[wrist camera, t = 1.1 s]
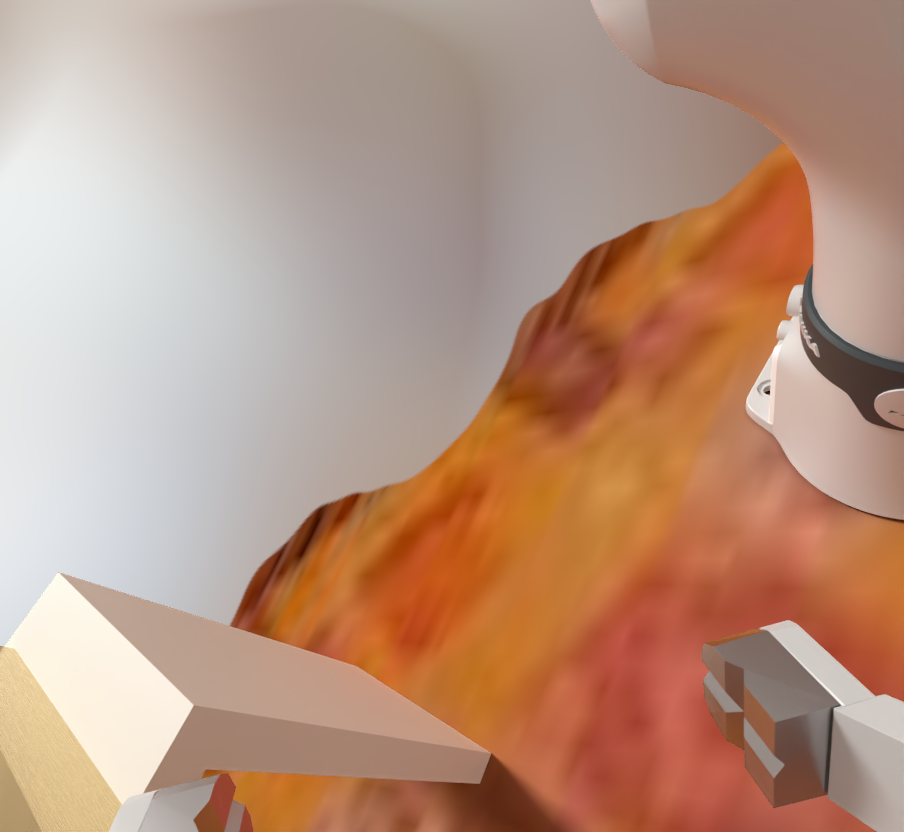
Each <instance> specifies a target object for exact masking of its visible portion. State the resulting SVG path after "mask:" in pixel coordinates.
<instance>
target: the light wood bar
mask: <svg viewBox="0 0 904 832" xmlns="http://www.w3.org/2000/svg"><path fill="white" fill-rule="evenodd" d="M121 806H122V804H121V803H120V801H119V800H118V798H117V797H116V795H115V794H114V792H113V791H112V790H111V788H110V787H109V785H108V784H107V782H106V781H105V779H104V778H103V776H102V775H101V773H100V772H99V771H98V769H97V768H96V766H95V765H94V763H93V762H92V760H91V759H90V757H89V756H88V755H87V753H86V752H85V750H84V749H83V747H82V746H81V744H80V743H79V741H78V740H77V739H76V737H75V736H74V734H73V733H72V731H71V730H70V728H69V727H68V725H67V724H66V723H65V721H64V720H63V718H62V717H61V715H60V714H59V712H58V711H57V709H56V708H55V706H54V705H53V704H52V702H51V701H50V699H49V698H48V696H47V695H46V693H45V692H44V690H43V689H42V688H41V686H40V685H39V683H38V682H37V680H36V679H35V677H34V676H33V674H32V673H31V672H30V670H29V669H28V667H27V666H26V664H25V663H24V661H23V660H22V658H21V657H20V656H19V654H18V653H17V651H16V650H15V649H13V648H8V647H3V646H0V832H109V829H110V827H111V825H112V823H113V821H114V819H115V816H116V814H117V812H118V810H119V808H120V807H121Z"/></svg>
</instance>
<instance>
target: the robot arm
mask: <svg viewBox="0 0 904 832" xmlns="http://www.w3.org/2000/svg"><path fill="white" fill-rule="evenodd" d="M590 1H591V3H592V6H593V8H594V10H595V12H596V15H597V17H598V18H599V20H600V22H601V23H602V25H603V27H604V28H605V30H606V32H607V34H608V35H609V36H610V38H611V39H612V40H613V41H614V43H615V44H616V45H617V47H618V48H619V49H620V50H621V51H622V52H623V53H624V54H625V55H626V56H627V57H628V58H629V59H630V60H631V61H632V62H633V63H634V64H635V65H637V66H638V67H639V68H641V69H642V70H644V71H645V72H646V73H648V74H649V75H651V76H653V77H654V78H656V79H658V80H660V81H662V82H664V83H666V84H670V85H675V86H680V87H684V88H688V89H691V90H695V91H698V92H702V93H705V94H708V95H710V96H713V97H715V98H718V99H720V100H723V101H725V102H727V103H730V104H732V105H734V106H735V107H737V108H739V109H741V110H742V111H744V112H746V113H748V114H749V115H751V116H753V117H754V118H756V119H757V120H758V121H760V122H761V123H762V124H764V125H765V126H767V127H768V128H769V129H770V130H771V131H772V132H773V133H774V134H776V135H777V136H778V137H779V138H780V139H781V140H782V141H783V142H784V143H785V144H786V146H787V147H788V148H789V149H790V150H791V152H792V153H793V154H794V156H795V157H796V159H797V160H798V162H799V164H800V165H801V167H802V169H803V172H804V174H805V177H806V180H807V183H808V187H809V192H810V198H811V208H812V219H813V238H814V258H813V264H812V266H811V268H810V269H809V271H808V274H807V276H806V279H805V282H804V285H796V286H794V288H793V289H792V291H791V294H790V296H789V299H788V303H787V309H786V312H787V314H789V316H793V317H792V319H791V321H785V320H783V321H782V322H781V323H780V325H779V328H778V331H777V339H779V342H778V344H777V345H776V347H775V348H774V351H773V353H772V354H771V356H770V358H769V360H768V361H767V363H766V365H765V367H764V368H763V370H762V372H761V374H760V375H759V377H758V379H757V381H756V382H755V384H754V386H753V388H752V390H751V391H750V393H749V395H748V397H747V400H746V412H747V414H748V415H749V416H750V417H751V418H752V419H753V420H754V421H755V422H756V423H758V424H759V425H760V426H762V427H763V428H765V429H766V430H767V431H769V432H770V433H772V434H773V435H774V436H775V438H776V439H777V440H778V442H779V443H780V445H781V447H782V449H783V450H784V452H785V454H786V456H787V457H788V459H789V460H790V462H791V463H792V464H793V466H794V467H795V468H796V469H797V470H798V472H799V473H800V474H801V475H802V476H803V477H804V478H805V479H807V480H808V481H809V482H810V483H811V484H813V485H814V486H815V487H817V488H818V489H819V490H821V491H822V492H824V493H825V494H827V495H829V496H830V497H832V498H834V499H836V500H838V501H840V502H842V503H844V504H846V505H849V506H851V507H854V508H856V509H859V510H862V511H865V512H868V513H872V514H875V515H879V516H884V517H888V518H894V519H901V520H904V0H590ZM767 391H770V395H767V394H765V392H767ZM702 661H703V663H704V664H705V665H706V667H707V668H708V669H709V672H708V674H707V675H706V677H705V678H704V680H703V686H704V696H705V699H706V702H707V705H708V708H709V711H710V713H711V715H712V717H713V719H714V721H715V723H716V725H717V727H718V728H719V730H720V731H721V733H722V734H723V736H724V737H725V739H726V740H727V741H728V742H730V743H732V744H734V745H735V746H737V747H739V748H741V749H742V750H744V758H745V768H746V769H747V771H748V772H749V773H750V775H751V776H752V778H753V779H754V781H755V782H756V784H757V785H758V786H759V788H760V789H761V791H762V792H763V794H764V795H765V796H766V798H767V799H768V801H769V802H770V804H771V805H772V806H773V808H777V807H781V806H785V805H789V804H793V803H797V802H801V801H805V800H809V799H813V798H817V797H821V796H824V795H828V799H829V800H831V801H832V802H834V803H835V804H837V805H838V806H840V807H841V808H843V809H844V810H846V811H847V812H849V813H850V814H852V815H853V816H855V817H856V818H858V819H859V820H860V821H862V822H863V823H865V824H866V825H868V826H869V827H871V828H872V829H874V830H875V831H877V832H904V702H902V701H900V700H898V699H895V698H893V697H890V696H888V695H886V694H884V695H879V696H875V695H874V694H873V693H872V692H870V691H869V690H868V689H867V688H866V687H865V686H864V685H863V684H862V683H861V682H860V681H858V680H857V679H856V678H855V677H854V676H853V675H852V674H851V673H850V672H849V671H848V670H846V669H845V668H844V667H843V666H842V665H841V664H840V663H839V662H838V661H837V660H836V659H835V658H833V657H832V656H831V655H830V654H829V653H828V652H827V651H826V650H825V649H824V648H823V647H821V646H820V645H819V644H818V643H817V642H816V641H815V640H814V639H813V638H812V637H811V636H809V635H808V634H807V633H806V632H805V631H804V630H803V629H802V628H801V627H800V626H799V625H797V624H796V623H794V622H792V621H790V620H787V621H784V622H780V623H776V624H773V625H769V626H765V627H762V628H759V629H757V628H756V629H753V630H749V631H746V632H742V633H738V634H735V635H731V636H728V637H724V638H721V639H717V640H714V641H710V642H707V643H704V645H703V648H702ZM235 788H236V787H235V785H234V783H233V781H232V780H231V778H230V776H229V774H221V775H216V776H212V777H208V778H204V779H200V780H196V781H191V782H187V783H183V784H179V785H175V786H171V787H166V788H162V789H159V790H155V791H151V792H147V793H143V794H139V795H135V796H131V797H129V798H128V799H127V800H126V801H125V802H124V803H123V805H122V806H121V807H120V808H119V810H118V812H117V814H116V816H115V819H114V821H113V823H112V825H111V827H110V829H109V832H253V827H252V823H251V818H250V815H249V813H248V811H247V809H246V807H245V805H243V804H241V803H239V802H237V801H234V800H233V796H234V792H235Z"/></svg>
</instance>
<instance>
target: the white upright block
mask: <svg viewBox="0 0 904 832" xmlns="http://www.w3.org/2000/svg"><path fill="white" fill-rule="evenodd" d="M4 647H8V648H13V649H15V650H16V651H17V653H18V654H19V656H20V657H21V658H22V660H23V661H24V663H25V664H26V666H27V667H28V669H29V670H30V672H31V673H32V674H33V676H34V677H35V679H36V680H37V682H38V683H39V685H40V686H41V688H42V689H43V690H44V692H45V693H46V695H47V696H48V698H49V699H50V701H51V702H52V704H53V705H54V706H55V708H56V709H57V711H58V712H59V714H60V715H61V717H62V718H63V720H64V721H65V723H66V724H67V725H68V727H69V728H70V730H71V731H72V733H73V734H74V736H75V737H76V739H77V740H78V741H79V743H80V744H81V746H82V747H83V749H84V750H85V752H86V753H87V755H88V756H89V757H90V759H91V760H92V762H93V763H94V765H95V766H96V768H97V769H98V771H99V772H100V773H101V775H102V776H103V778H104V779H105V781H106V782H107V784H108V785H109V787H110V788H111V790H112V791H113V792H114V794H115V795H116V797H117V798H118V800H119V801H120V803H121V804H122V805H123V803H124V802H125V801H126V800H127V799H128V798H129V797H131V796H135V795H139V794H143V793H147V792H151V791H155V790H159V789H162V788H166V787H171V786H175V785H179V784H183V783H187V782H191V781H196V780H200V779H201V777H202V775H203V773H204V771H205V769H210V770H229V771H248V772H266V773H285V774H304V775H323V776H341V777H360V778H379V779H398V780H416V781H435V782H454V783H473V784H480V782H481V780H482V777H483V774H484V772H485V769H486V766H487V764H488V761H489V758H490V756H491V753H490V752H489V751H487V750H486V749H484V748H483V747H481V746H480V745H478V744H476V743H475V742H473V741H472V740H470V739H469V738H467V737H466V736H464V735H462V734H461V733H459V732H458V731H456V730H455V729H453V728H452V727H450V726H449V725H447V724H445V723H444V722H442V721H441V720H439V719H438V718H436V717H435V716H433V715H431V714H430V713H428V712H427V711H425V710H424V709H422V708H421V707H419V706H418V705H416V704H414V703H413V702H411V701H410V700H408V699H407V698H405V697H404V696H402V695H401V694H399V693H397V692H396V691H394V690H393V689H391V688H390V687H388V686H387V685H385V684H383V683H382V682H380V681H379V680H377V679H376V678H374V677H373V676H371V675H370V674H368V673H366V672H365V671H363V670H362V669H360V668H359V667H357V666H354V665H351V664H348V663H345V662H342V661H338V660H335V659H332V658H329V657H326V656H323V655H319V654H316V653H313V652H310V651H307V650H304V649H300V648H297V647H294V646H291V645H288V644H285V643H281V642H278V641H275V640H272V639H269V638H265V637H262V636H259V635H256V634H253V633H250V632H246V631H243V630H240V629H237V628H234V627H231V626H227V625H224V624H221V623H218V622H215V621H211V620H208V619H205V618H202V617H199V616H196V615H192V614H189V613H186V612H183V611H179V610H177V609H173V608H170V607H167V606H164V605H161V604H157V603H154V602H151V601H148V600H144V599H141V598H138V597H135V596H132V595H129V594H126V593H122V592H119V591H116V590H113V589H110V588H106V587H104V586H100V585H97V584H94V583H91V582H88V581H85V580H81V579H78V578H75V577H72V576H68V575H65V574H62V573H59V572H58V574H57V575H56V576H55V578H54V579H53V581H52V582H51V583H50V585H49V586H48V587H47V589H46V590H45V591H44V593H43V594H42V596H41V597H40V598H39V600H38V601H37V602H36V604H35V605H34V607H33V608H32V609H31V611H30V612H29V614H28V615H27V616H26V618H25V619H24V620H23V622H22V623H21V625H20V626H19V627H18V629H17V630H16V632H15V633H14V634H13V636H12V637H11V638H10V640H9V641H8V642H7V644H6V645H5V646H4Z"/></svg>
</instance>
